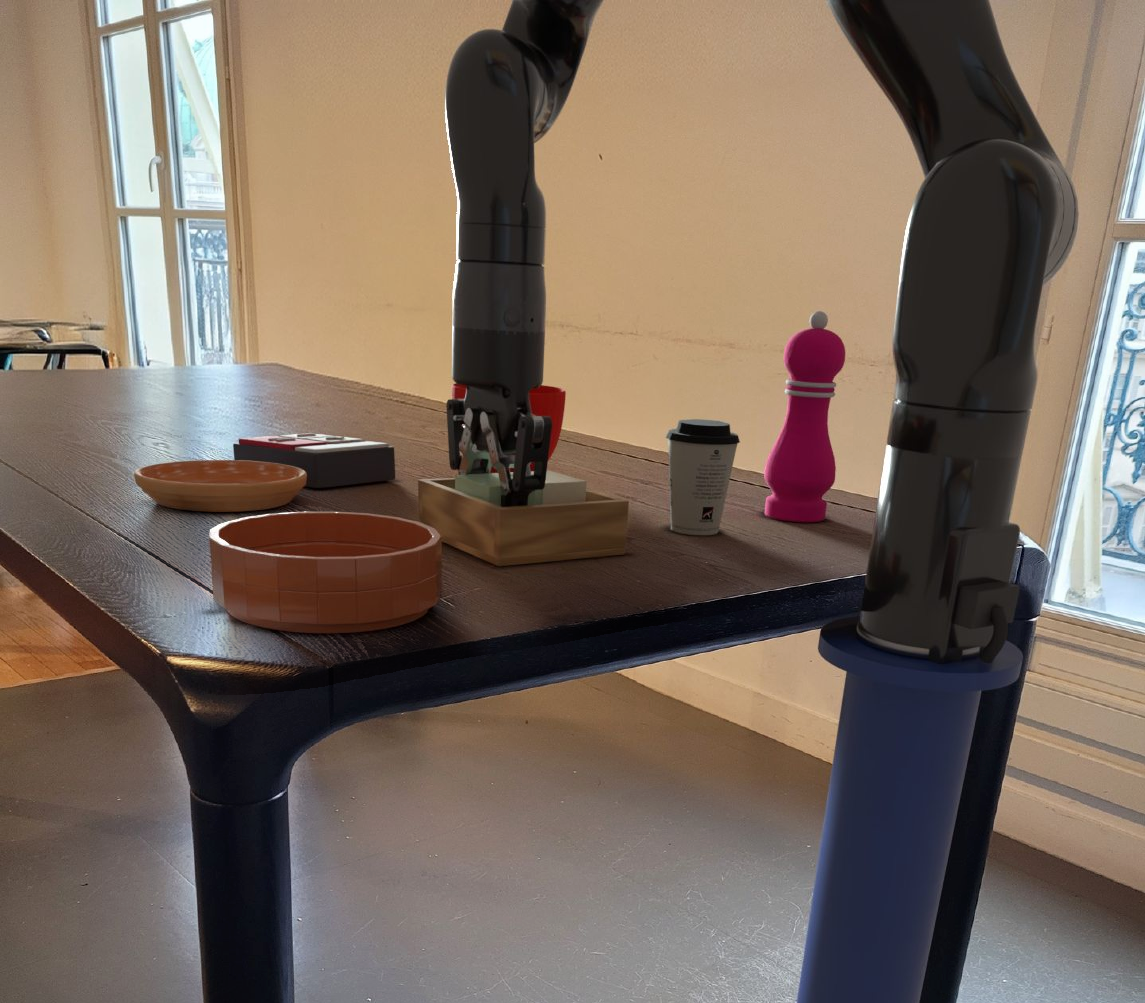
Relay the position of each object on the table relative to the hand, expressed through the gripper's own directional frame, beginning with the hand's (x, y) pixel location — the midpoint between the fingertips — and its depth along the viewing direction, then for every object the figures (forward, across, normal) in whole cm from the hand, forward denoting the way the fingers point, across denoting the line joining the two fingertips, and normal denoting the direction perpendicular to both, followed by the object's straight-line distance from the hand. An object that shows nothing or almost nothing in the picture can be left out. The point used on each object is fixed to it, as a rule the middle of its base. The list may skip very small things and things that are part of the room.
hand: (493, 530), depth 99 cm
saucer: (+1, +26, +16) cm, 30 cm away
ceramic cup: (+1, +30, -18) cm, 35 cm away
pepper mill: (+1, +1, -37) cm, 37 cm away
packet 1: (+1, 0, 0) cm, 1 cm away
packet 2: (+1, 0, -5) cm, 5 cm away
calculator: (+1, +38, +2) cm, 38 cm away
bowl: (+1, -13, +20) cm, 24 cm away
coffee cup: (+1, -1, -22) cm, 22 cm away
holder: (+1, 0, -3) cm, 3 cm away
